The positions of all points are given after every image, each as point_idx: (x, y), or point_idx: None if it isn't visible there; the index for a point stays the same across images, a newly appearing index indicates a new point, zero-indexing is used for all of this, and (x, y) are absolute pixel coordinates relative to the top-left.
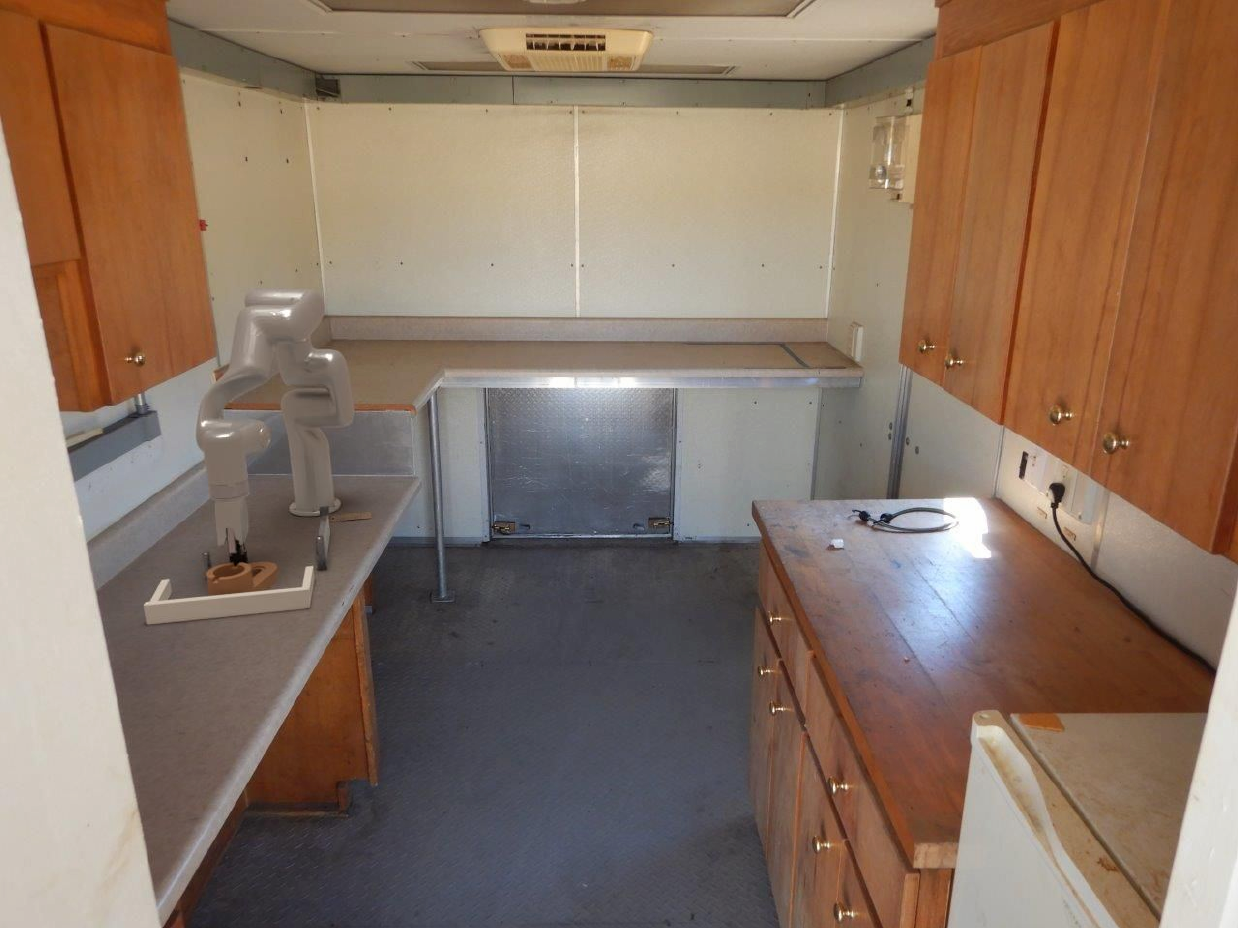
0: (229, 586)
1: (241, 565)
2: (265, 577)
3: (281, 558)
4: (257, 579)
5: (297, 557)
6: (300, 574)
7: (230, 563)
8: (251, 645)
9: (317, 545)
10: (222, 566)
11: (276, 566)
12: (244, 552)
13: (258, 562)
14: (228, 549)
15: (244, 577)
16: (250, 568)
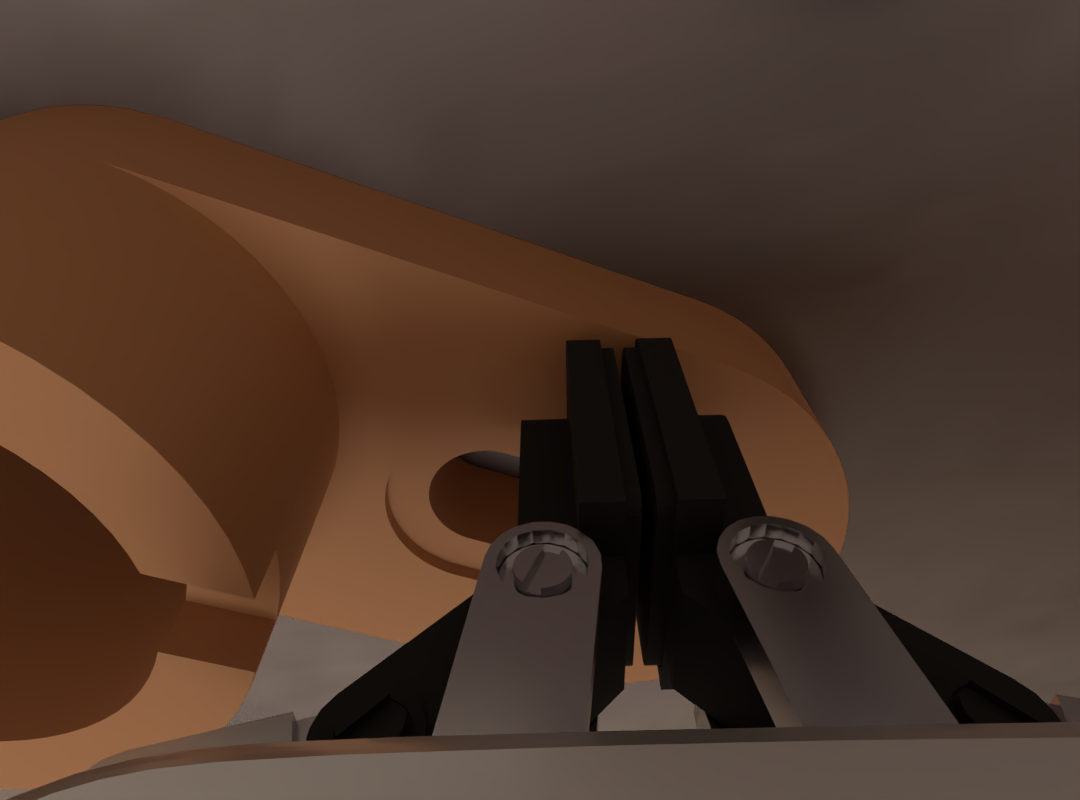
0: None
1: (131, 698)
2: (403, 633)
3: (1062, 571)
4: (358, 585)
5: (1007, 661)
6: (645, 702)
7: (201, 570)
8: None
9: None
10: (54, 480)
11: (653, 676)
12: (660, 669)
13: (829, 539)
14: (456, 666)
15: None
16: (47, 782)
